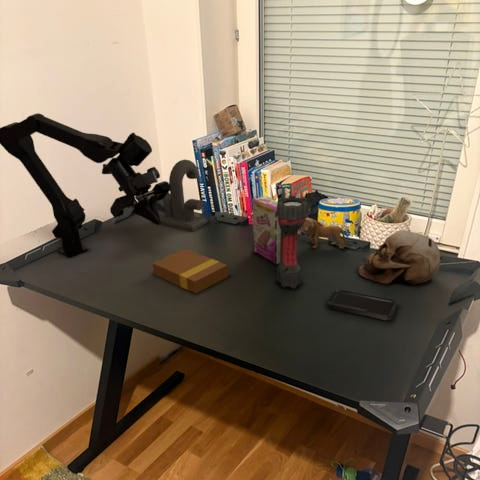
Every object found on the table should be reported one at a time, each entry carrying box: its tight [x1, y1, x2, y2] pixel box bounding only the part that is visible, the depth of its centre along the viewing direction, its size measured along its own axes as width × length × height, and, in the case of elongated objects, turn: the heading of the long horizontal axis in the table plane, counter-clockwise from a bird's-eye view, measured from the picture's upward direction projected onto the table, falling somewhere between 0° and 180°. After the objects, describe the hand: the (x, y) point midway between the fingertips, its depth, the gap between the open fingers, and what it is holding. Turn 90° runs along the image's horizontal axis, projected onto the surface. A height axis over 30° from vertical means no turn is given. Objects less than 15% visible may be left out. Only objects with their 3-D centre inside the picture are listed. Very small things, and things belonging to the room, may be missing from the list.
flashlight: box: [276, 194, 309, 290], centre depth 121 cm, size 8×8×23 cm
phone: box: [327, 289, 397, 321], centre depth 116 cm, size 8×1×15 cm
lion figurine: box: [300, 217, 350, 250], centre depth 144 cm, size 15×5×9 cm, turn 87°
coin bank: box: [358, 229, 441, 286], centre depth 125 cm, size 16×17×13 cm
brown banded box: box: [152, 248, 229, 294], centre depth 133 cm, size 4×12×17 cm
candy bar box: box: [251, 195, 281, 265], centre depth 137 cm, size 11×5×16 cm, turn 35°
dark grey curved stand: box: [159, 159, 208, 232], centre depth 164 cm, size 18×16×20 cm
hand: (159, 224), depth 133 cm, fingers closed
